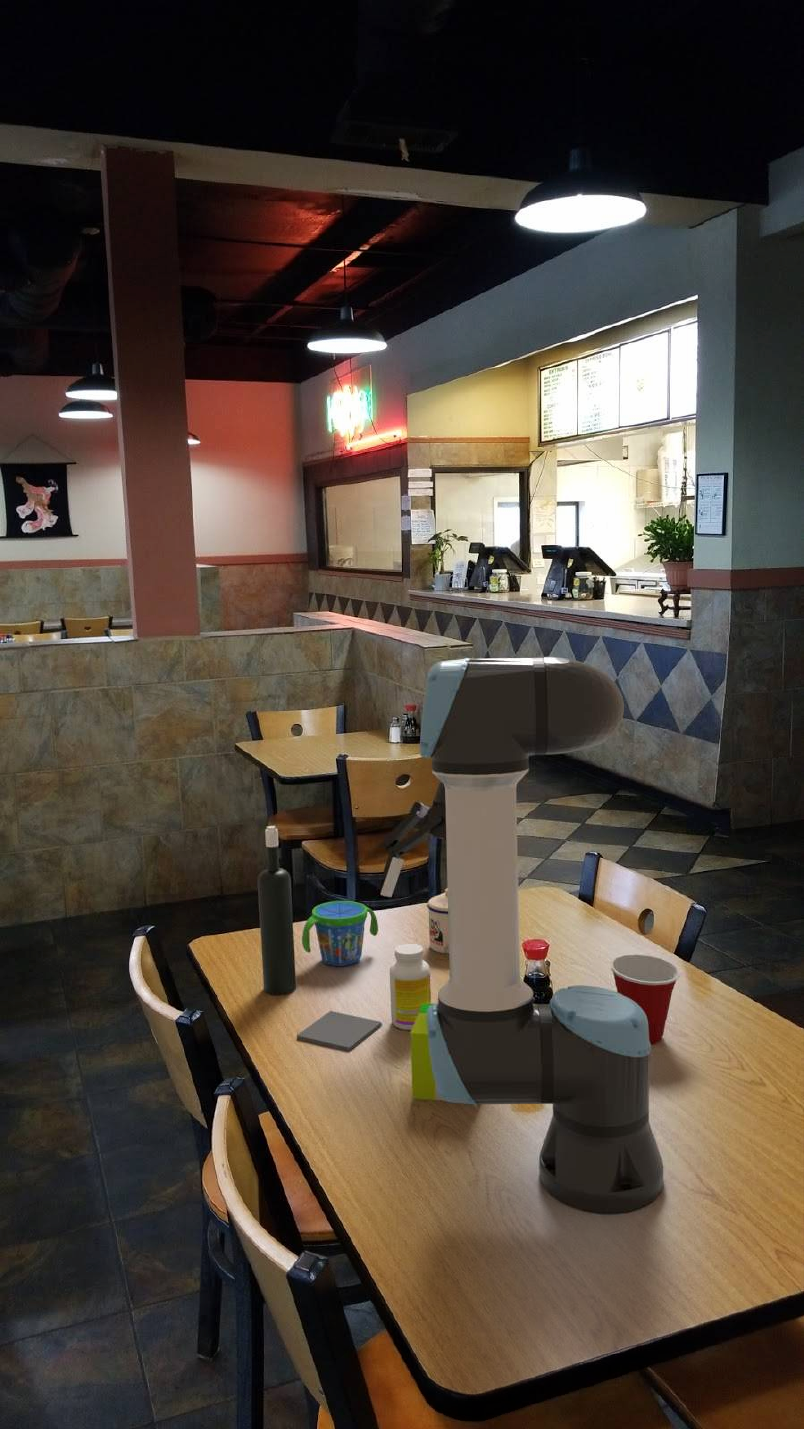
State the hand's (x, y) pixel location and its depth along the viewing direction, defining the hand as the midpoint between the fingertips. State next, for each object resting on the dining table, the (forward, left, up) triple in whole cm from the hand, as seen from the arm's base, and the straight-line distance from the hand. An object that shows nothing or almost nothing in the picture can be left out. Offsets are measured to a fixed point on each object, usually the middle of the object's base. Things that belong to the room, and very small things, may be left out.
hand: (420, 909), depth 176 cm
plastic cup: (+10, -34, -19) cm, 41 cm away
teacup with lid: (+31, +10, -19) cm, 37 cm away
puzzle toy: (-16, -13, -20) cm, 29 cm away
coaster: (-9, +11, -19) cm, 24 cm away
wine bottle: (+1, +30, -19) cm, 35 cm away
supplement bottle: (-1, +2, -19) cm, 20 cm away
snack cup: (+17, +27, -19) cm, 37 cm away
